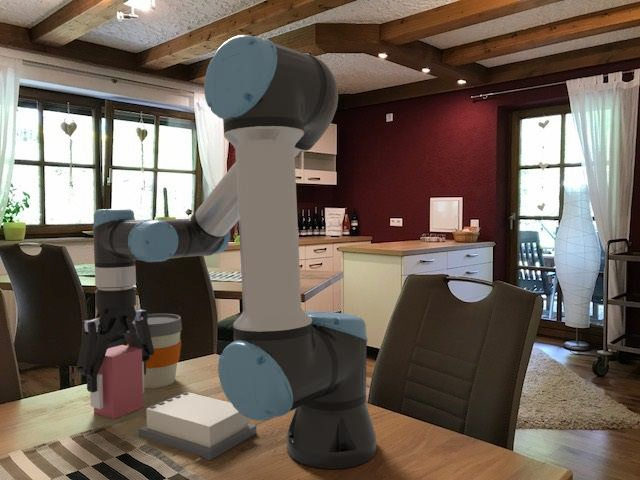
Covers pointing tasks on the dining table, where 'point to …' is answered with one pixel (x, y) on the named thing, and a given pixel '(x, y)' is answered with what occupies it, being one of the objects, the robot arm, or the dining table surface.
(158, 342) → the reusable coffee cup
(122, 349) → the pink block
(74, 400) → the dining table surface
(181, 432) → the white notepad
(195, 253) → the robot arm
